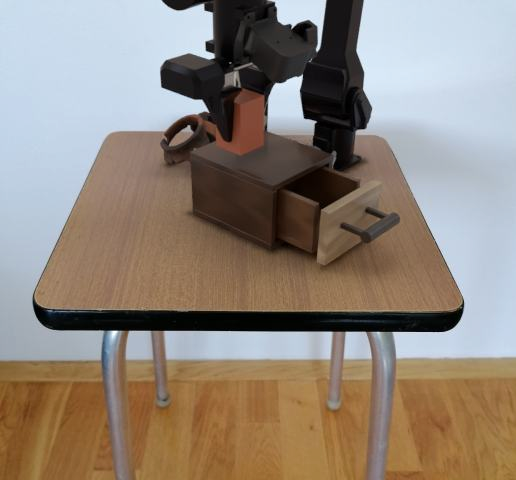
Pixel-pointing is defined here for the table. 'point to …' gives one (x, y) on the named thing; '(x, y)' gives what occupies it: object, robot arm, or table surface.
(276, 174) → the cabinet
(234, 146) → the block
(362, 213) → the drawer
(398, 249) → the table surface
